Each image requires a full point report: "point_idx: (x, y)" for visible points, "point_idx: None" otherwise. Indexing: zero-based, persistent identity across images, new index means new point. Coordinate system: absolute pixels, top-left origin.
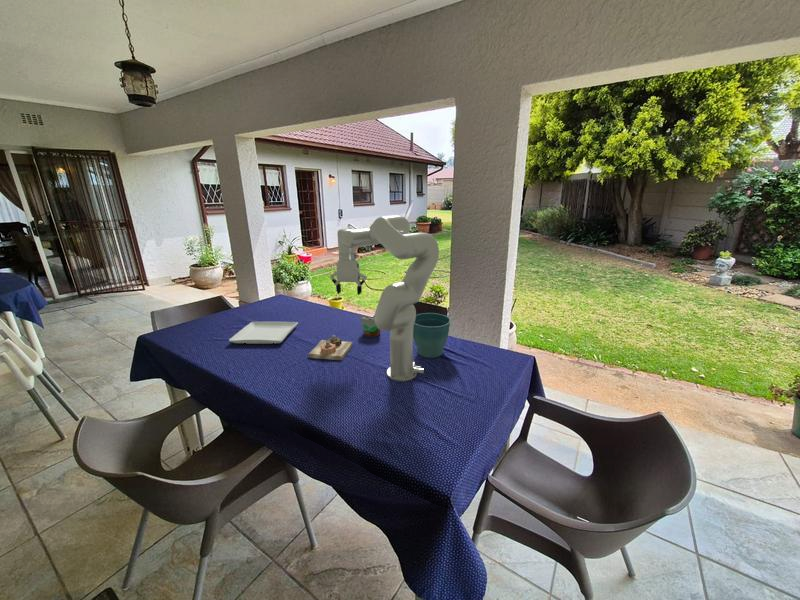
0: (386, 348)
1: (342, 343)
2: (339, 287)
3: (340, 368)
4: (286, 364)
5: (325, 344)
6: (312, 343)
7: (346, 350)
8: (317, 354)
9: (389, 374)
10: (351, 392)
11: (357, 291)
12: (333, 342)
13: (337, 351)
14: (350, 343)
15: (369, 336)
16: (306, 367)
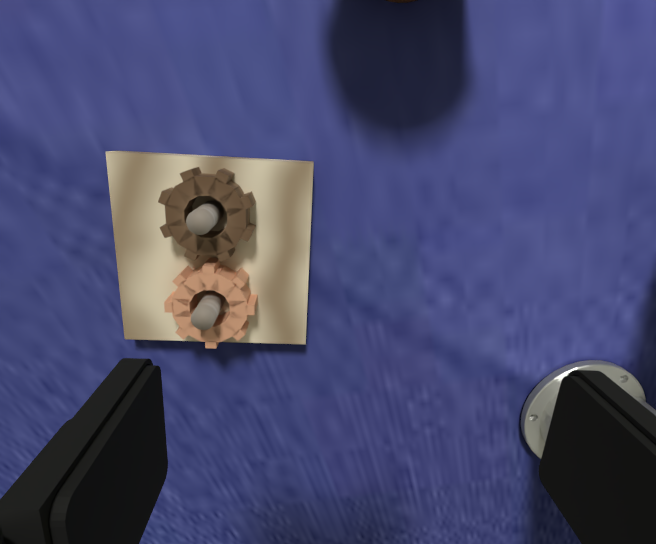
0: (514, 178)
1: (258, 192)
2: (111, 534)
3: (321, 401)
4: (66, 399)
5: (182, 287)
6: (53, 155)
7: (308, 273)
8: (175, 340)
9: (535, 445)
10: (405, 532)
11: (575, 528)
12: (219, 255)
13: (266, 298)
14: (307, 187)
15: (394, 1)
16: (171, 411)
